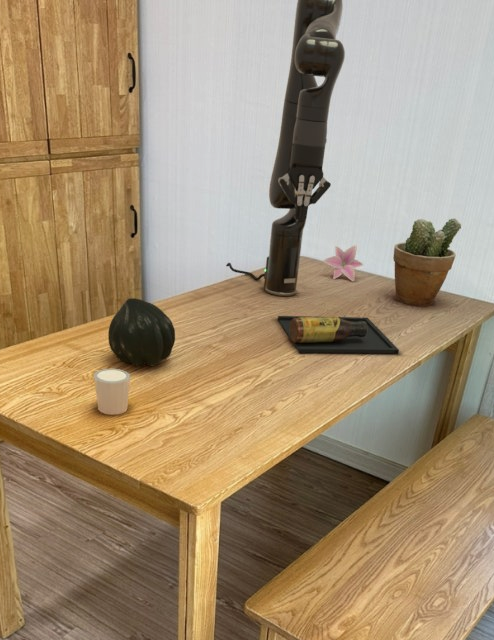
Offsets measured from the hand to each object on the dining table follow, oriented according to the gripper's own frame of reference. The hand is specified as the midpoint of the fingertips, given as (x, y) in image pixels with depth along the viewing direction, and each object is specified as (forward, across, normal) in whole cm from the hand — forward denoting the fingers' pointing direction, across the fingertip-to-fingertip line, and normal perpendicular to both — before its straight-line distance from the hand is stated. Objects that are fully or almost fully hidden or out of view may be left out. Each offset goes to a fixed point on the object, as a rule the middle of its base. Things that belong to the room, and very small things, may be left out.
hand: (299, 221), depth 168 cm
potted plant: (+28, -48, -30) cm, 63 cm away
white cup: (+27, +46, +45) cm, 70 cm away
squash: (+28, +39, +20) cm, 52 cm away
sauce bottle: (+24, +1, +9) cm, 26 cm away
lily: (+28, -32, -53) cm, 68 cm away
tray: (+28, -13, +3) cm, 31 cm away
